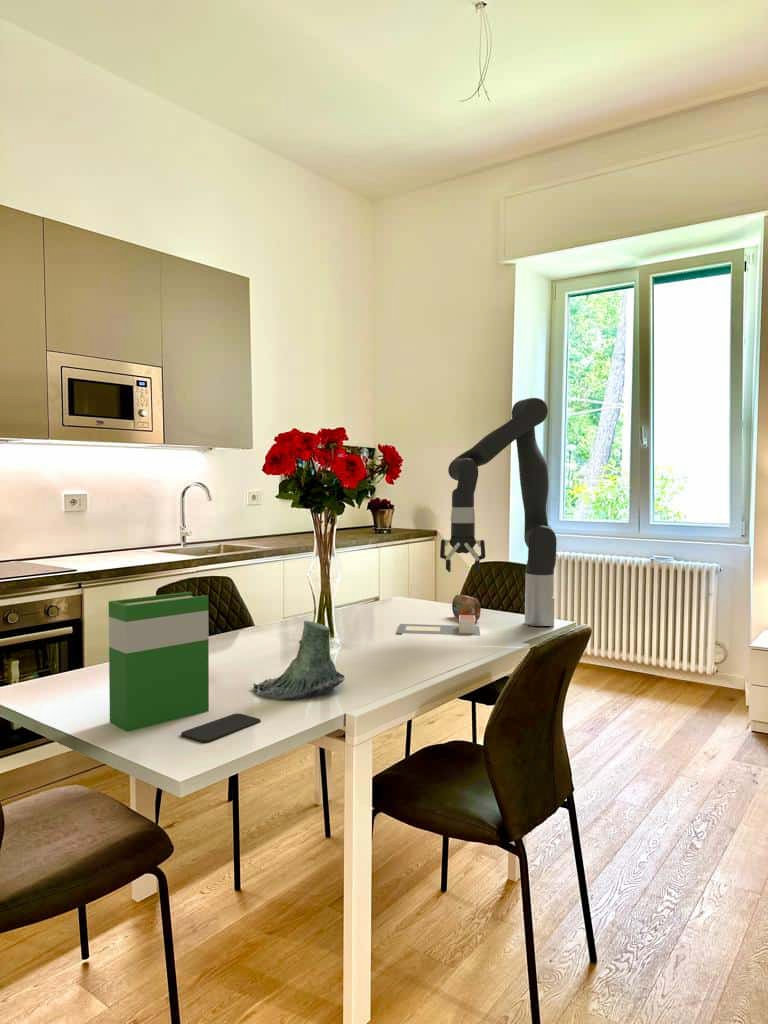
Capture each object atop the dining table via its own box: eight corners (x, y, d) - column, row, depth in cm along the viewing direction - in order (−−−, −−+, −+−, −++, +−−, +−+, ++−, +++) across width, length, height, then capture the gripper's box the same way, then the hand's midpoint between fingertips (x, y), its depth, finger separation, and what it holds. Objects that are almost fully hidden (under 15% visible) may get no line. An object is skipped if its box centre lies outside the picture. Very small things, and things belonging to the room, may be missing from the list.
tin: (451, 616, 252) (451, 592, 252) (458, 615, 253) (459, 592, 253) (474, 624, 238) (474, 599, 238) (482, 623, 240) (482, 598, 239)
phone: (263, 719, 142) (205, 741, 129) (263, 723, 142) (205, 746, 129) (237, 712, 146) (178, 732, 133) (236, 716, 146) (178, 737, 133)
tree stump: (257, 679, 173) (276, 607, 173) (337, 699, 173) (356, 627, 174) (246, 699, 154) (267, 618, 155) (335, 721, 155) (356, 641, 155)
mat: (479, 627, 234) (479, 625, 234) (480, 636, 220) (480, 635, 220) (399, 625, 236) (399, 623, 236) (396, 634, 222) (396, 632, 222)
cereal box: (190, 702, 153) (189, 591, 152) (208, 711, 148) (208, 595, 147) (109, 722, 141) (108, 601, 139) (126, 731, 135) (125, 606, 134)
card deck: (474, 627, 231) (474, 615, 231) (475, 633, 222) (475, 620, 222) (459, 627, 232) (459, 614, 232) (459, 633, 223) (459, 620, 223)
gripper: (486, 520, 229) (485, 571, 230) (441, 520, 232) (441, 570, 233) (484, 522, 222) (484, 574, 223) (439, 521, 225) (438, 573, 225)
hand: (462, 572), depth 228 cm, fingers open, 8 cm apart
